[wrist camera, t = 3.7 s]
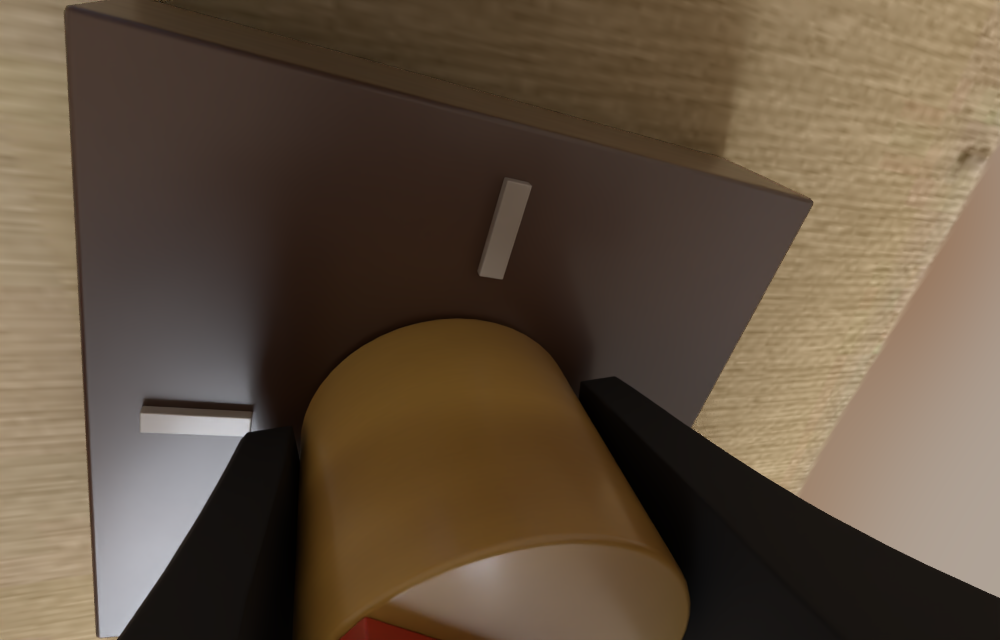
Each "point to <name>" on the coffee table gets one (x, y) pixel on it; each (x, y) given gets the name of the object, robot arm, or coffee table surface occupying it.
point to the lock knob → (470, 502)
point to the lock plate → (356, 249)
